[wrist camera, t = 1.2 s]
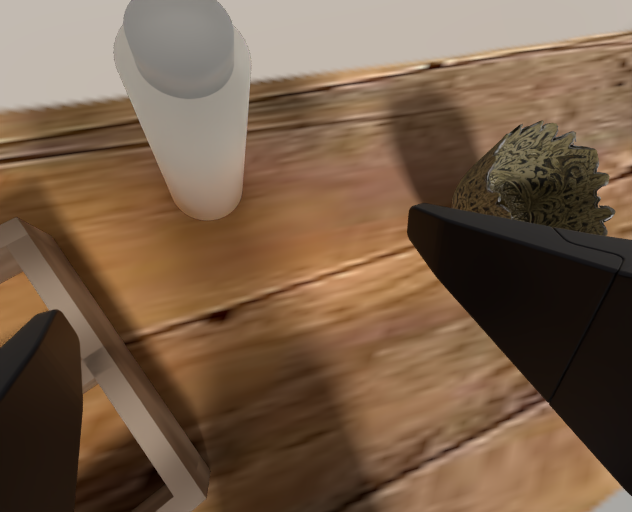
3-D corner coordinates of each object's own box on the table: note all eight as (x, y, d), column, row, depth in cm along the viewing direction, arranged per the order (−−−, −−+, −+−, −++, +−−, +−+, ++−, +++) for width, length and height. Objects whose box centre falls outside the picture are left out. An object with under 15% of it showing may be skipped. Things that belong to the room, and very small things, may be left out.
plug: (255, 198, 24) (280, 56, 12) (196, 233, 22) (155, 115, 10) (217, 144, 24) (202, -49, 12) (155, 176, 22) (70, -5, 11)
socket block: (210, 470, 20) (206, 500, 16) (24, 625, 17) (-31, 702, 13) (51, 236, 20) (13, 215, 17) (-155, 344, 17) (-253, 346, 14)
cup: (420, 170, 27) (495, 105, 19) (507, 187, 28) (608, 133, 21) (418, 269, 25) (499, 240, 17) (510, 282, 27) (622, 260, 19)
